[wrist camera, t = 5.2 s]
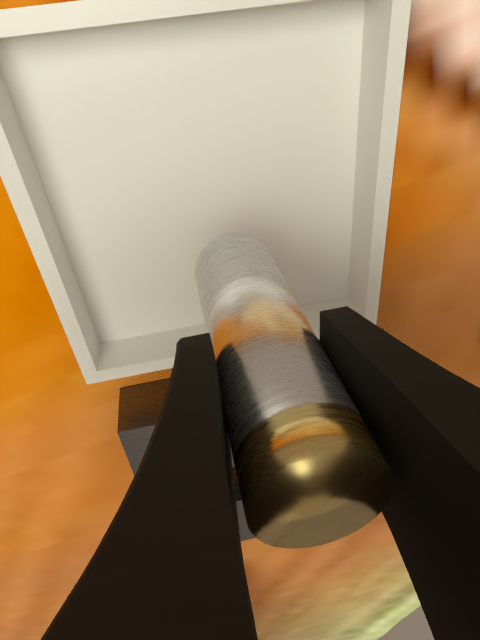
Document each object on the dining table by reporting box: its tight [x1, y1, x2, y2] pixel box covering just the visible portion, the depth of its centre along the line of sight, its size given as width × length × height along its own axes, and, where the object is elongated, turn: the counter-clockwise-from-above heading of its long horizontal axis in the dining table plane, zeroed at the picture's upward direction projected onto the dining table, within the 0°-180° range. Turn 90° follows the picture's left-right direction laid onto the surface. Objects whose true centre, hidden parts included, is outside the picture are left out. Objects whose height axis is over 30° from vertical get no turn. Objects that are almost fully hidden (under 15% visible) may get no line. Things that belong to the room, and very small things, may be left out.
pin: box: [195, 233, 395, 548], centre depth 10 cm, size 2×2×8 cm
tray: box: [0, 0, 411, 384], centre depth 17 cm, size 13×13×3 cm
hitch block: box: [118, 378, 256, 541], centre depth 26 cm, size 12×12×3 cm
